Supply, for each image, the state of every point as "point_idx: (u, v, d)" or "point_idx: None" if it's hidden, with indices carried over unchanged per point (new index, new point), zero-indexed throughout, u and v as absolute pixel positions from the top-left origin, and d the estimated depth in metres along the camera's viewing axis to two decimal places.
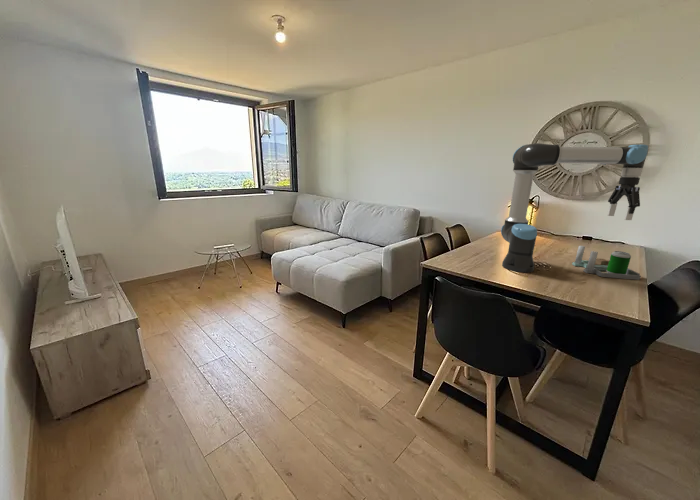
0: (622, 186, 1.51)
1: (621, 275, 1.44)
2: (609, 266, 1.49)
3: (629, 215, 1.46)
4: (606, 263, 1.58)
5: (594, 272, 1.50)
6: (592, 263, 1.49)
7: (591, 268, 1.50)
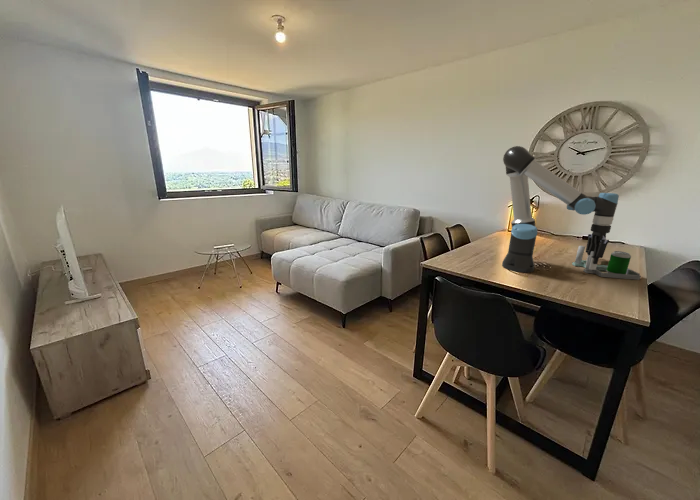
0: (594, 231, 1.49)
1: (621, 275, 1.44)
2: (609, 266, 1.49)
3: (593, 265, 1.49)
4: (606, 263, 1.58)
5: (594, 272, 1.50)
6: None
7: None
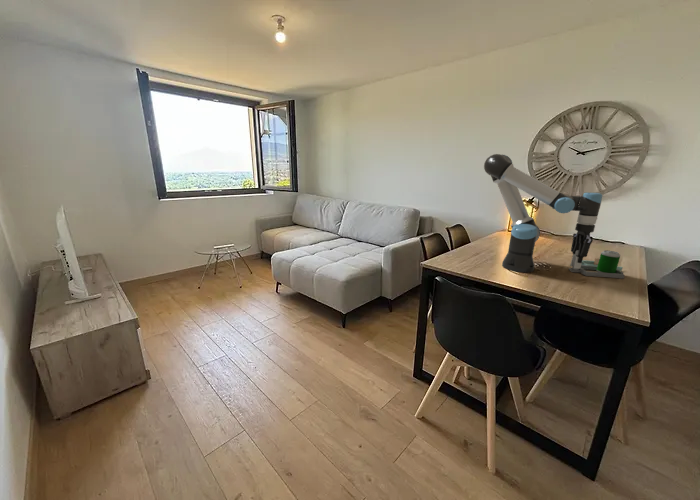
0: (578, 231, 1.50)
1: (605, 274, 1.45)
2: (599, 265, 1.50)
3: (578, 264, 1.50)
4: None
5: (579, 271, 1.52)
6: None
7: None
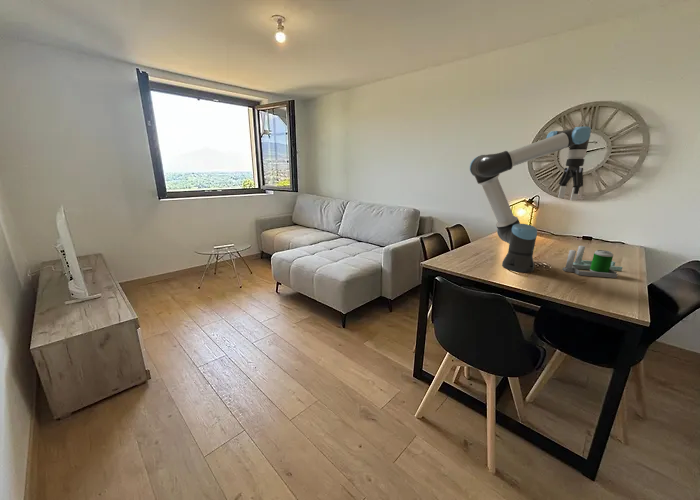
0: (569, 168, 1.56)
1: (598, 273, 1.46)
2: (592, 265, 1.51)
3: (574, 195, 1.51)
4: None
5: (573, 270, 1.52)
6: (570, 261, 1.51)
7: (570, 266, 1.52)
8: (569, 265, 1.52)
